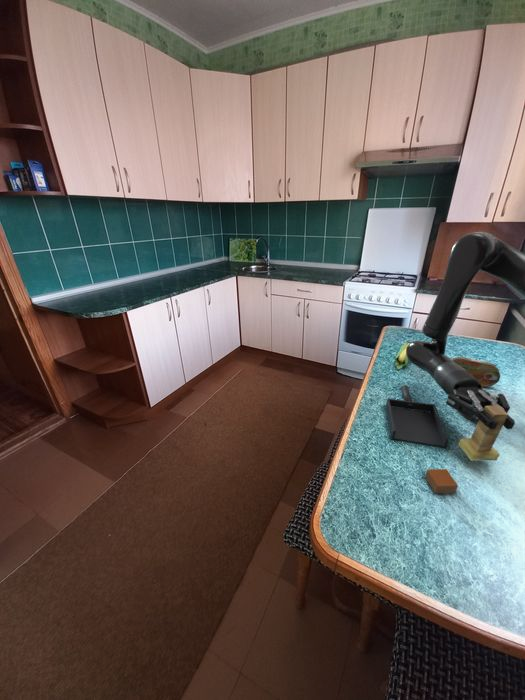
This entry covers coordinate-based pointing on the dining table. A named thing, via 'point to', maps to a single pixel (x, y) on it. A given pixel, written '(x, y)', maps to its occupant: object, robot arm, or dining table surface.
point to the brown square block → (441, 481)
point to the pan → (415, 422)
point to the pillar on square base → (484, 437)
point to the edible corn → (402, 357)
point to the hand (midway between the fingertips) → (503, 426)
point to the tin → (480, 370)
